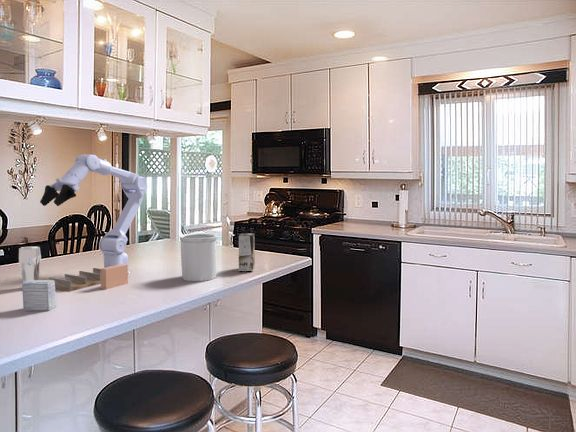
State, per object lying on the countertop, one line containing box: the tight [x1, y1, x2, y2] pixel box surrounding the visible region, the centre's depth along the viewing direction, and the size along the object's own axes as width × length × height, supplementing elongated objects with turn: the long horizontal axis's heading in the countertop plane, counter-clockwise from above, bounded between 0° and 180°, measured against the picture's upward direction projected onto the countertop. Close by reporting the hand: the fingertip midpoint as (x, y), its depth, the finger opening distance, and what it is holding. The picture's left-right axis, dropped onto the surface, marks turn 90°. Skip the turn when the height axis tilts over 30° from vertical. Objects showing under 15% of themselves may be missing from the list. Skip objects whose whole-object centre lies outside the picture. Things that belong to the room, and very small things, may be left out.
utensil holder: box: [179, 232, 218, 282], centre depth 176 cm, size 15×15×18 cm
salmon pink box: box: [100, 264, 129, 290], centre depth 162 cm, size 10×3×8 cm, turn 152°
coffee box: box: [238, 232, 256, 272], centre depth 191 cm, size 9×6×16 cm
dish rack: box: [48, 267, 101, 292], centre depth 166 cm, size 20×13×4 cm, turn 152°
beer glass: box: [18, 245, 42, 285], centre depth 158 cm, size 7×7×15 cm
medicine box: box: [21, 279, 57, 312], centre depth 133 cm, size 8×4×9 cm, turn 92°
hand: (49, 204), depth 154 cm, fingers open, 7 cm apart
